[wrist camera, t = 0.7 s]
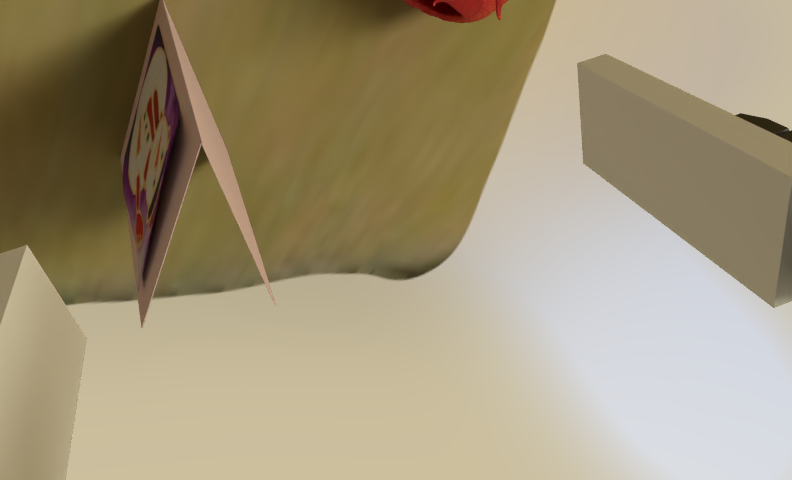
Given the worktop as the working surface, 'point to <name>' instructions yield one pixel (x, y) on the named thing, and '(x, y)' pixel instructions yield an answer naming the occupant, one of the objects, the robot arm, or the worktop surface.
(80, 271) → the worktop surface
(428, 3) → the pomegranate
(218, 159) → the greeting card
